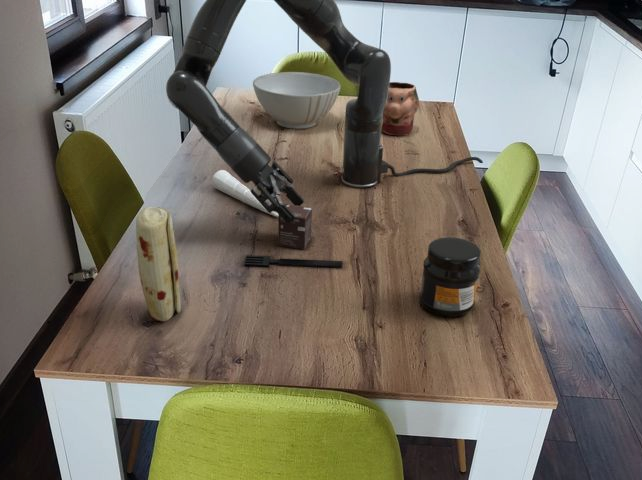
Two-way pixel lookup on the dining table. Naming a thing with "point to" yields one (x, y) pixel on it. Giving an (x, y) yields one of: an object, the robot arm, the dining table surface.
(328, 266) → the fork
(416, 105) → the decorative planter
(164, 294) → the food model
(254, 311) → the dining table surface
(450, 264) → the supplement container
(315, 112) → the decorative bowl
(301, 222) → the box
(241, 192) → the unicorn horn
